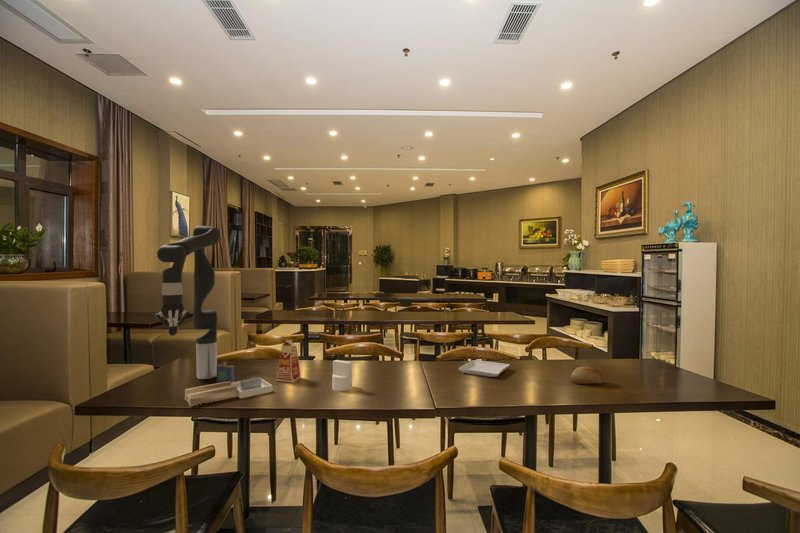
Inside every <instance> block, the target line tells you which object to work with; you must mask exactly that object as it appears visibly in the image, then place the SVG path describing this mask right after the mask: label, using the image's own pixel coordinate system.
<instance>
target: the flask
mask: <svg viewBox="0 0 800 533" xmlns="http://www.w3.org/2000/svg"><path fill="white" fill-rule="evenodd" d="M227 363H228V362H227V361H223V362H222V363H220V364H217V366H216V367H217V376H216V381H215V382H216V383H222V382H227V381H230V382H231V383H232V382H235V366H234V365H227ZM216 383H215V384H216Z"/></svg>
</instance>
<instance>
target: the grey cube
mask: <svg viewBox="0 0 800 533" xmlns="http://www.w3.org/2000/svg"><path fill="white" fill-rule="evenodd" d="M240 381H241V390H242V391H245V390H250V389H253V381H252V380H251V379H250V378H248V379H247V378H246V379H242V380H240Z"/></svg>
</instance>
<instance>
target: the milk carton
mask: <svg viewBox="0 0 800 533" xmlns="http://www.w3.org/2000/svg"><path fill="white" fill-rule="evenodd" d="M298 353H299V352H298V347H297V345H296V344H295V343H294V342H293V340H292V339H287V338H286V339H285V341H284V342H283V343H282V345H281V350H280V354H279V355H280V356H279V361H278V367H277V371H276V372H277V373H276V379H275V381H277V382H284V383H286V382H287V383H294V382H296V381H297V380H299V379H300V378H301V367H300V361H299V354H298Z"/></svg>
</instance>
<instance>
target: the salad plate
mask: <svg viewBox="0 0 800 533" xmlns="http://www.w3.org/2000/svg"><path fill="white" fill-rule="evenodd" d="M510 365H511V364H509V363H502V362H496V361H487V360H476V359H473V360H470V361H468V362H466V363H464V364H463V365H461V366H460V367H458V370H459V371H460V372H462V373H464V374H468V375H475V376H481V377H489V378H495V377H498V376H499V375H500V374H501V373H503V372H504V371H505V370H507V369H508V368H509V367H510Z"/></svg>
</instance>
